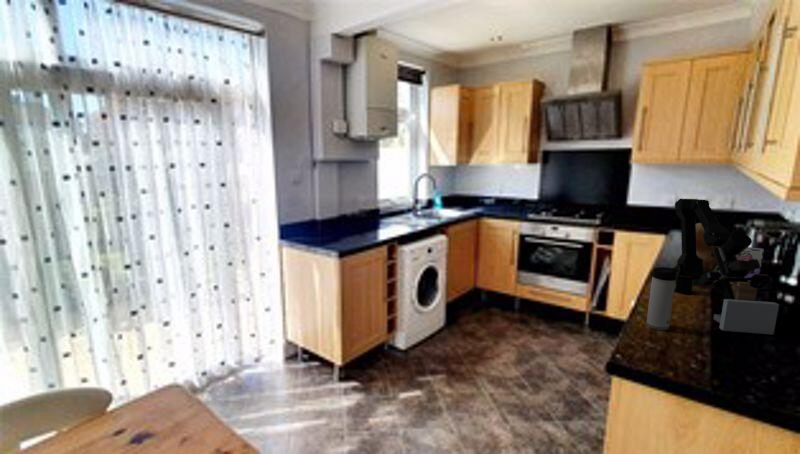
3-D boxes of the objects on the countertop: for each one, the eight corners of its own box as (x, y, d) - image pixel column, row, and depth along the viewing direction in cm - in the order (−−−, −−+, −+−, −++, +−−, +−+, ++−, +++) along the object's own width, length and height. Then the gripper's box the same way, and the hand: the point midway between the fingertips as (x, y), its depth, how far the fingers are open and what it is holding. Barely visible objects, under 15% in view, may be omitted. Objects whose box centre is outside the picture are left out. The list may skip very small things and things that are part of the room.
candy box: (717, 280, 178) (722, 245, 175) (718, 277, 183) (723, 243, 180) (757, 287, 169) (764, 250, 166) (758, 284, 173) (764, 248, 171)
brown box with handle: (724, 317, 131) (730, 279, 129) (740, 318, 130) (747, 280, 128) (733, 323, 126) (740, 284, 124) (751, 324, 125) (758, 285, 123)
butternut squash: (675, 269, 196) (681, 220, 192) (697, 268, 198) (704, 220, 194) (700, 277, 182) (708, 225, 178) (724, 276, 185) (732, 224, 181)
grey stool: (705, 318, 134) (709, 290, 132) (751, 321, 131) (756, 293, 130) (723, 330, 124) (727, 301, 123) (773, 334, 122) (779, 304, 120)
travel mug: (673, 331, 123) (682, 271, 120) (651, 329, 125) (658, 270, 121) (664, 323, 129) (672, 266, 126) (643, 321, 131) (650, 264, 127)
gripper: (709, 248, 130) (724, 290, 121) (773, 251, 126) (793, 294, 117) (693, 264, 139) (706, 304, 130) (752, 267, 135) (770, 309, 126)
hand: (743, 303), depth 126 cm, fingers closed on brown box with handle, 5 cm apart
